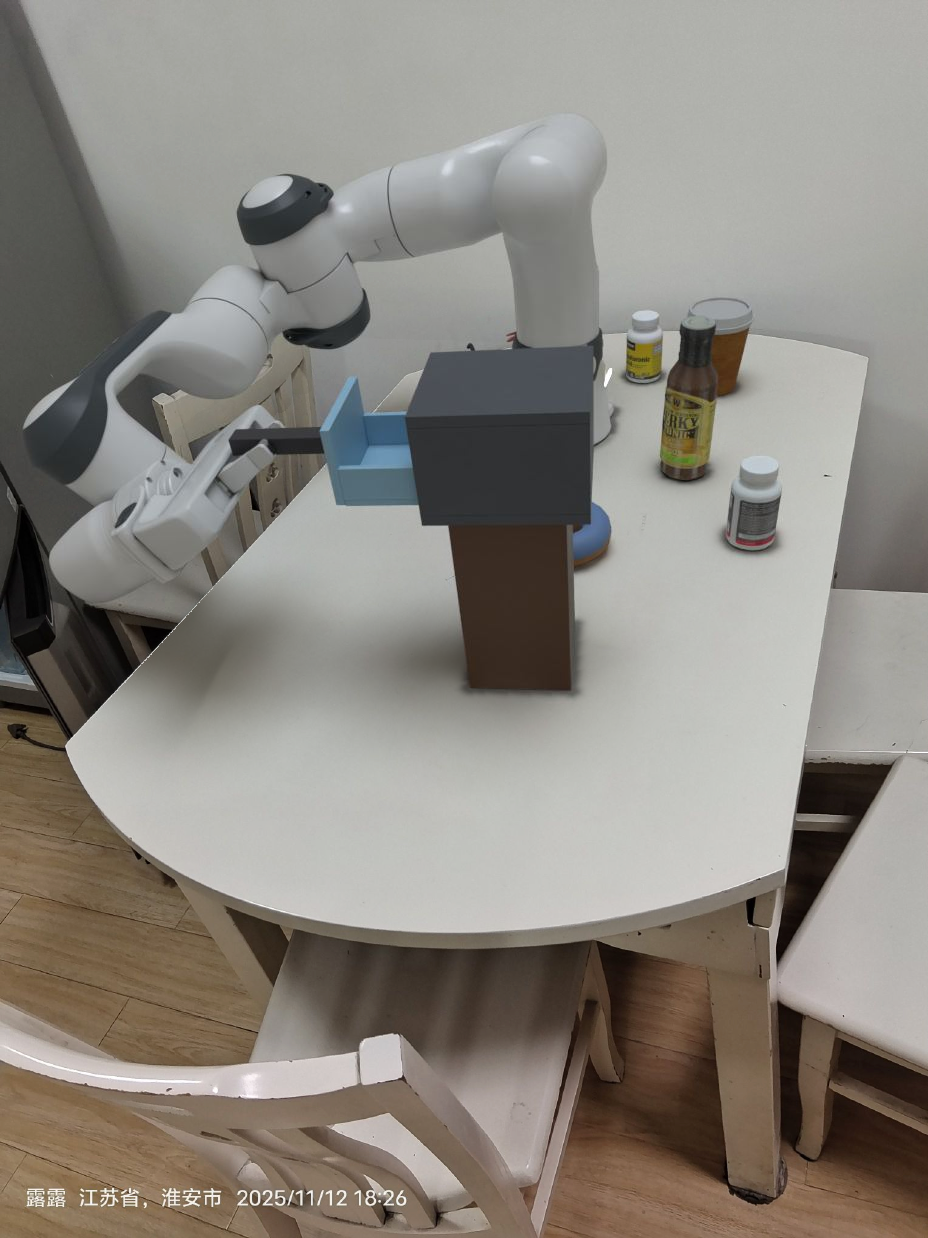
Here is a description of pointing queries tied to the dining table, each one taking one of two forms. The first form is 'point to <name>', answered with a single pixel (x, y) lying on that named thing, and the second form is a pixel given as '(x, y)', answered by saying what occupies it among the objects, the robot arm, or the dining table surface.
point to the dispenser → (508, 499)
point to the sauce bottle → (690, 402)
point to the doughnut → (591, 536)
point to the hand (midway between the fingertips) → (276, 438)
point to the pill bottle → (754, 504)
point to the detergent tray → (350, 451)
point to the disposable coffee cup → (726, 335)
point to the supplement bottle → (644, 347)
